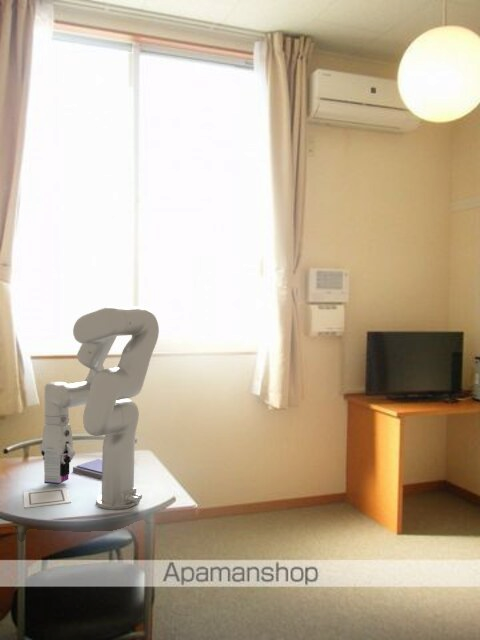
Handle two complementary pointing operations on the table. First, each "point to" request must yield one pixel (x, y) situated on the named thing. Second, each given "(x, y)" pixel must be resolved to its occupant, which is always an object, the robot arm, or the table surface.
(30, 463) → the table surface
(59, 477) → the supplement box
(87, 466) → the ink pad
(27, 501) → the marked card
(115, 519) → the table surface
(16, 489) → the table surface
